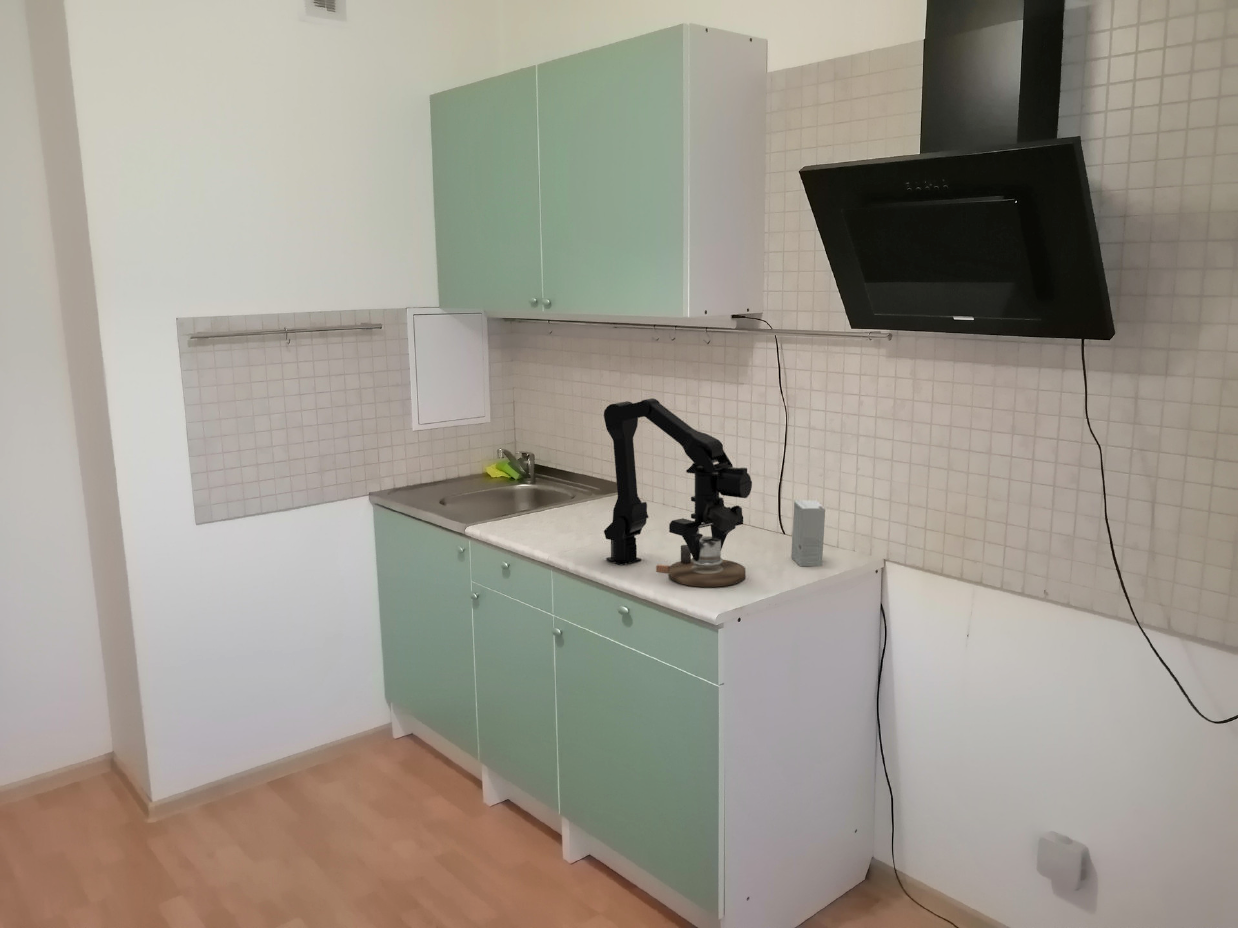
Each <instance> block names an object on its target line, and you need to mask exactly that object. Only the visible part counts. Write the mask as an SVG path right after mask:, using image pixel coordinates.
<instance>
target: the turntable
mask: <svg viewBox="0 0 1238 928" xmlns="http://www.w3.org/2000/svg"><path fill="white" fill-rule="evenodd" d="M669 566H670V567H669V573H668V578H670V580H671V581H674V582H676V583H678V584H680V585H681V584H682V585H685V586H692V587H703V588H704V587H705V588H706V587H707V588H713V587H725V586H731V585H736V584H737V583H740V582H742V581H744V580H745V578H746V567H745V566H744V565H743V564H741V563H738V562H735V561H731V560H728V559H723V558H722V564H721V565H719V566H714V567H701V566H696V565H693V564H692V554H691V552H690V550H689V548H688V546H687V544H681V545H680V561H676V562H674V563H672V564H671V565H669Z"/></svg>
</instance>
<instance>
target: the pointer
mask: <svg viewBox="0 0 1238 928" xmlns="http://www.w3.org/2000/svg"><path fill="white" fill-rule="evenodd" d="M670 566H671V565H667V564H666V565H665V564H656V567H655V570H656V572H657V573H665V574H669V567H670Z"/></svg>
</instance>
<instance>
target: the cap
mask: <svg viewBox="0 0 1238 928" xmlns="http://www.w3.org/2000/svg"><path fill="white" fill-rule="evenodd" d="M721 552H722V549H721V539H719V538H717V537H712V536H707V535H706V536H704V535H703V536H702V537H701V539H700V541H699V559H698V561H695V560H694V559H693V557H691V559H692V564H693V565H696V566H701V567H714V566H719V565H721V564H722V559H723V557H721V556H722V555H721V554H722V553H721Z"/></svg>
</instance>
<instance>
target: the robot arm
mask: <svg viewBox="0 0 1238 928" xmlns="http://www.w3.org/2000/svg"><path fill="white" fill-rule="evenodd" d="M639 418H646V419H647V420H648V421H650V422H651V423H652V424H653V425H655V426H656V427H657V428H659V429H660V430H661V431H663V433H665V434H666V435H668V436H669V437H670V438H672V439H673V440H674V441H675V442H677V443H679V445H680V446H681V447H682V449H683V450H684V453H685V455H686V456H687V457H688V458H689V459H690V460H691V462H692V464H691V465H690V467H688V468H687V469H686V470H685V472H686V473H687V474H693V475H694V496H691V497H690V502H692V503H694V513H691V514H690V518H691V519H694V520H690V519H687V518H683V517H682V518H677V519H673V520H670V522H669V524H668V525H669V526H668V527H669V528H668V529H669V530H668V532H669V533H671V534H674V535H678V536H681V537H682V539H683V540H684V542H685V545H687V546H688V548H689V550H690V552H691V557H692V558H693V559H694V560H695V561H698V559H699V541H700V539H701V537H703V536H704V534H702V533H700V529H702V528H707V527H710V531H711V532H710V533H711V537H717V538H719V539H721V550H722V549H723V546H724V544H725V543H724V542H725V541H726V539H727V536H728V534H729V533H731V532H732V531H733V530H735V529H736V527H737V526H741V525H744V515H743V508H742V507H741V506H740V505H733V506H725V501H724V497H725V496H726V497H731V498H733V497H734V498H741V499H748V498H749V496H750V494H751V491H752V487H753V482H752V479H751V476H750V474H749V473H748V468H747V467H734V466H733V463H732V462H731V460H730V458H729V457H728V455H727V454H726V452H725V450H724V445H723V443H722V441H721V440H719V439H717V438H716V437H713V436H712V435H710V434H708V433H704V432H701V431H699V430H697V429H695V428H693V427H692V426H690V425H689V424H687V423H686V422H685V421H684V420H682V419H681V418H679V416H677V415H676V414H674V413H673V412H672V411H671V410H669V409H668V408H666V406H664V405H663V404H661V403H660V401H659V400H658V399H656V398H654V397H653V398H648V399H647V398H646V399H642V400H641V401H638V402H631V401H628V400H626V401H621V402H615V403H611V404H609V405H607V407H606V408H604V411H603V419H604V420H603V421H604V424H605V428H606V431H607V432H608V434H609V435H610V437H611V439H612V443H613V454H614V456H613V457H614V467H615V481H616V490H617V491H616V493H617V494H616V495H617V497H616V501H615V503H614V507H613V511H612V522H610V524H609V525H608V526H607V527H606V528H605V529H604V530H603V534H604V536H605V539H606V540H609V541H610V556H609V557H606V558H605V560H606V561H608V562H611V563H613V564H617V565H619V566H624V565H630V564H632V563H637V562H641V561H642V559H641V558H640V557H638V553H637V548H638V547H637V537H636V536H639V535H641V533H642V530H643V529H644V527H645V525H646V524H647V519H649V515H648V503H647V502H646V501H643V502H642V500H641V499H640V497H639V495H638V485H637V472H636V471H637V470H636V460H635V449H634V448H635V447H634V446H635V445H634V436H635V434H636V431H637V429H638V424H639ZM720 495H721V496H724V497H721V496H720Z"/></svg>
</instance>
